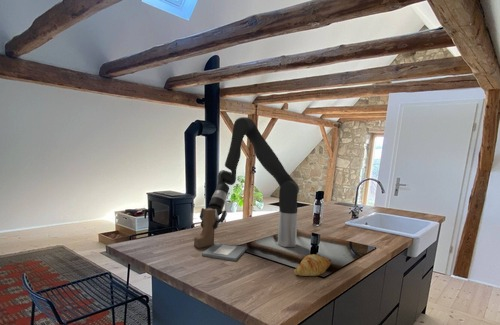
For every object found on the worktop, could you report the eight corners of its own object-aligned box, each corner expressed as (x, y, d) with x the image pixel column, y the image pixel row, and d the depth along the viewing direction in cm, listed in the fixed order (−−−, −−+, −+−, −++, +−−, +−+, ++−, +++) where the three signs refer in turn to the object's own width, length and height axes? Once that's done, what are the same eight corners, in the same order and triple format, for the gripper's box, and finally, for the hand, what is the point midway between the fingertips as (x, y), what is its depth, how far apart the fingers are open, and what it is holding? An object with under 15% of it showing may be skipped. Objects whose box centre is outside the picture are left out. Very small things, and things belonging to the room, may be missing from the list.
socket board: (246, 249, 139) (246, 246, 139) (235, 261, 124) (235, 257, 123) (216, 245, 143) (216, 242, 143) (201, 255, 128) (202, 252, 128)
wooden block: (197, 248, 137) (199, 211, 137) (193, 245, 141) (195, 209, 140) (214, 245, 143) (215, 209, 142) (209, 242, 146) (211, 208, 146)
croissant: (299, 288, 109) (308, 274, 105) (283, 268, 115) (291, 253, 112) (333, 274, 122) (342, 261, 118) (317, 257, 128) (325, 244, 125)
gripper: (204, 195, 152) (192, 222, 141) (229, 197, 148) (219, 225, 137) (207, 203, 158) (197, 230, 147) (232, 205, 154) (223, 233, 143)
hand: (208, 227), depth 142 cm, fingers closed on wooden block, 6 cm apart
